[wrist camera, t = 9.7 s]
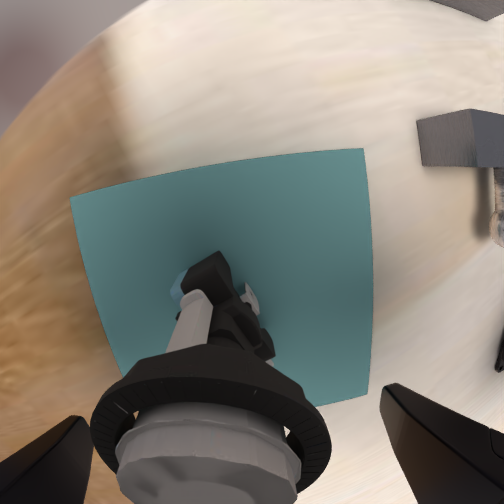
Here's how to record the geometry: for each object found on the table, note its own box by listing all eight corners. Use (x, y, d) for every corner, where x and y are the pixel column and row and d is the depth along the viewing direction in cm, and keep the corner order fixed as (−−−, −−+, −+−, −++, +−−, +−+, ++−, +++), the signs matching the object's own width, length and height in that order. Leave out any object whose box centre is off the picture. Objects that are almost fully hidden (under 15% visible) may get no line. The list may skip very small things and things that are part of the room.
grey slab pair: (475, -4, 10) (508, -23, 6) (520, 230, 15) (563, 244, 10) (366, -39, 10) (393, -76, 6) (426, 250, 15) (476, 274, 10)
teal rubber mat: (355, 149, 13) (363, 148, 12) (362, 384, 17) (367, 394, 16) (79, 196, 13) (69, 197, 12) (148, 412, 17) (144, 422, 16)
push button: (311, 339, 15) (382, 512, 5) (222, 382, 15) (214, 555, 5) (243, 225, 13) (256, 364, 3) (146, 284, 13) (31, 443, 4)
